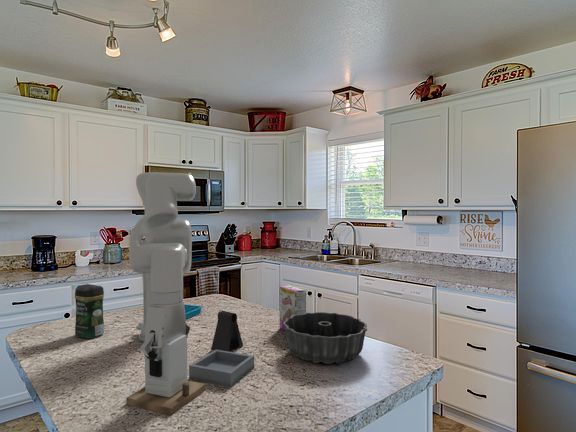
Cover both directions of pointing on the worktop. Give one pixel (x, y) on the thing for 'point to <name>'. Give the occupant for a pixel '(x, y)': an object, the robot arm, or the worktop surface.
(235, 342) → the phone stand
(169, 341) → the robot arm
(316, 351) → the bundt pan
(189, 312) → the ice cube tray
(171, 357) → the supplement box
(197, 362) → the tray
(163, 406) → the peg stand
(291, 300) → the candy bar box
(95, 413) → the worktop surface
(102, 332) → the coffee jar
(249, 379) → the worktop surface
